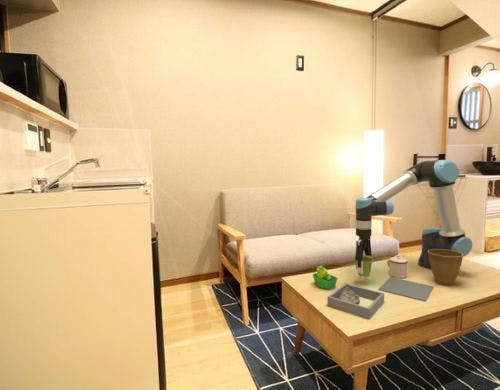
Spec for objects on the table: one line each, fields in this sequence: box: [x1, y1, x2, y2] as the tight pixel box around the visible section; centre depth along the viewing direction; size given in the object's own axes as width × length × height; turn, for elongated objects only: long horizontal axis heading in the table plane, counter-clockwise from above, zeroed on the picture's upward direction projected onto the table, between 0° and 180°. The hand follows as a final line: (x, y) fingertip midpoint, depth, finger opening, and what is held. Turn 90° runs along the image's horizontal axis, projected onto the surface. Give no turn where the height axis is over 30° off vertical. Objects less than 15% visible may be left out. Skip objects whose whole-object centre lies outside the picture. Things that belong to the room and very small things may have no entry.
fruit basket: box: [312, 265, 338, 291], centre depth 144 cm, size 11×9×11 cm
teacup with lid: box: [386, 254, 408, 279], centre depth 157 cm, size 12×9×12 cm
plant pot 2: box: [428, 249, 464, 286], centre depth 145 cm, size 15×15×16 cm
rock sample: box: [339, 287, 361, 305], centre depth 125 cm, size 10×8×9 cm
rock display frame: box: [326, 283, 385, 320], centre depth 125 cm, size 19×18×4 cm
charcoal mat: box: [378, 276, 435, 302], centre depth 139 cm, size 20×20×1 cm
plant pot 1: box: [353, 255, 374, 278], centre depth 147 cm, size 9×9×9 cm
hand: (363, 270), depth 147 cm, fingers closed on plant pot 1, 9 cm apart
